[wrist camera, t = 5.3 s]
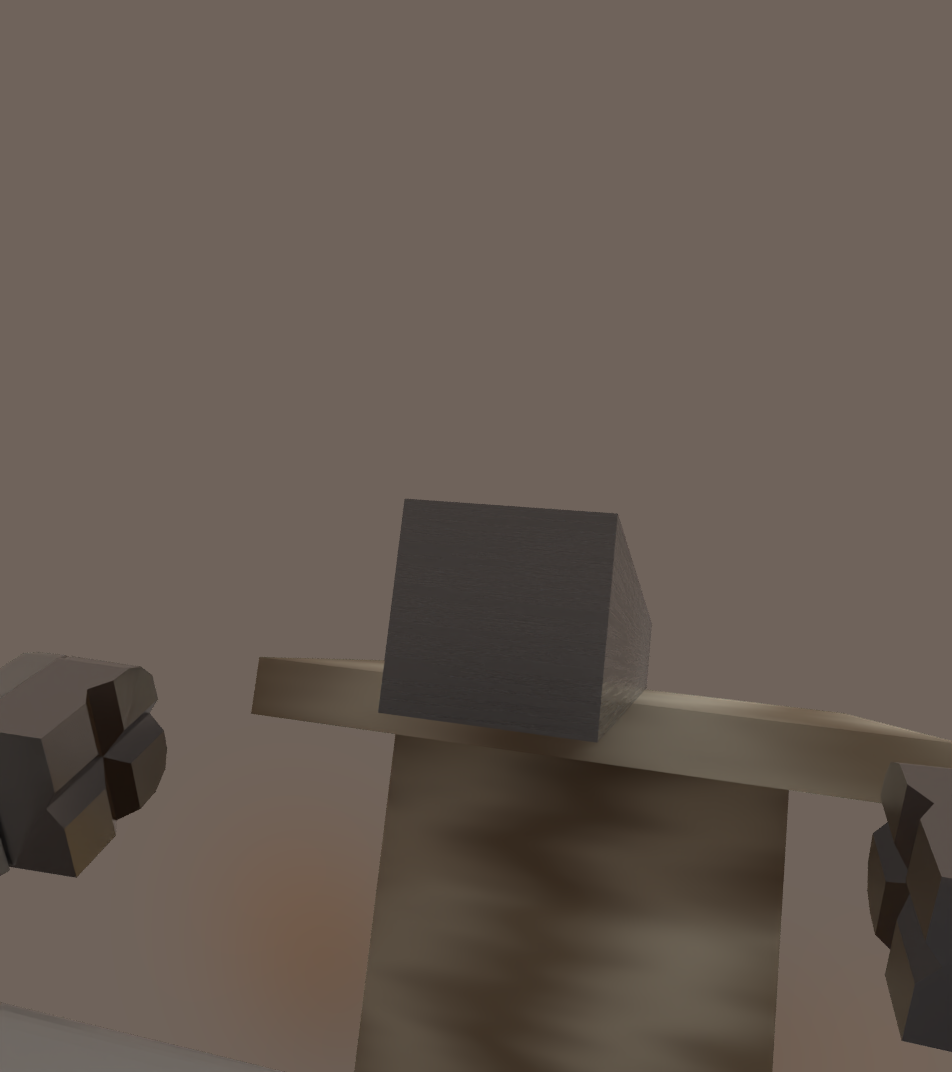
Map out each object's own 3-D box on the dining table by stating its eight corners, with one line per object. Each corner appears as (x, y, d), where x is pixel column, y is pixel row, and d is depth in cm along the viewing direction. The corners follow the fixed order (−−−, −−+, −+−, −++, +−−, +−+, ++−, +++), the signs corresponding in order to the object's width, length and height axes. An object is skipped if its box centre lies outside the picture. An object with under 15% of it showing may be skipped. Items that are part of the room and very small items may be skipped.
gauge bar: (582, 680, 32) (588, 617, 33) (646, 688, 32) (651, 624, 32) (378, 712, 9) (404, 498, 10) (597, 742, 9) (617, 513, 9)
